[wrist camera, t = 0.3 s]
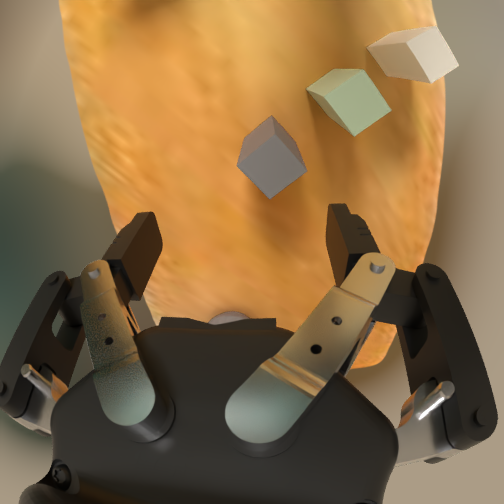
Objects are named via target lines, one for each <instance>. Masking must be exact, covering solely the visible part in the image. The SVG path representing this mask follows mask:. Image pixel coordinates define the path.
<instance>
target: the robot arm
mask: <svg viewBox="0 0 504 504" xmlns="http://www.w3.org/2000/svg"><path fill="white" fill-rule="evenodd" d="M162 246H163V243H162V237H161V234H160V231H159V227H158V224H157V220H156V217H155V214H154V213H153V212H141V213H137V214H136V215H135V217H134V218H133V220H132V221H131V222H130V224H128V225H126V226H125V227H124V228H123V229H121V231H120V232H119V233H118V235H117V237H116V238H115V239H114V241H113V244H111V245H110V247H109V248H108V250H107V252H106V253H105V255H104V256H103V258H102V259H101V260H96V261H94V262H91V263H90V264H88V265H87V266H86V267H85V268H84V269H83V270H82V271H81V274H80V276H79V277H75V278H72V279H68V277H67V275H66V274H65V272H63V271H56V272H54V273H52V274H51V275H49V276H48V277H47V278H46V279H45V281H44V282H43V283H42V285H41V287H40V288H39V290H38V292H37V293H36V295H35V297H34V299H33V300H32V302H31V304H30V305H29V307H28V309H27V311H26V313H25V315H24V316H23V318H22V320H21V322H20V324H19V326H18V328H17V330H16V332H15V334H14V336H13V338H12V340H11V342H10V345H9V347H8V349H7V351H6V353H5V356H4V358H3V360H2V363H1V365H0V409H1V410H3V411H4V412H5V413H7V414H8V415H9V416H10V417H11V418H13V419H14V420H16V421H17V422H19V423H20V424H22V425H23V426H25V427H27V428H28V429H31V430H33V431H35V432H37V433H38V434H40V435H42V436H44V437H48V436H52V445H53V460H52V465H51V468H50V470H49V472H48V474H47V475H46V476H45V477H44V478H43V479H42V480H40V481H39V482H37V483H36V484H33V485H31V486H29V487H27V488H26V489H25V490H24V491H23V492H22V494H21V496H20V500H19V504H382V501H383V496H384V492H385V489H386V485H387V482H388V480H389V477H390V474H391V472H392V470H393V468H394V467H397V466H402V465H407V464H411V463H415V462H419V461H425V462H427V463H431V464H433V463H437V462H440V461H442V460H445V459H447V458H449V457H452V456H454V455H456V454H458V453H460V452H462V451H464V450H467V449H468V448H470V447H472V446H474V445H476V444H478V443H480V442H482V441H484V440H485V439H487V438H489V437H490V436H491V434H492V433H493V432H494V430H495V428H496V425H497V420H498V414H497V409H496V404H495V400H494V397H493V392H492V388H491V385H490V381H489V378H488V375H487V371H486V368H485V365H484V362H483V359H482V356H481V353H480V351H479V347H478V345H477V342H476V339H475V337H474V334H473V332H472V329H471V327H470V324H469V322H468V319H467V317H466V315H465V312H464V310H463V308H462V305H461V303H460V301H459V299H458V297H457V295H456V293H455V291H454V289H453V287H452V285H451V282H450V280H449V279H448V276H447V275H446V273H445V272H444V271H443V270H442V269H441V268H439V267H438V266H436V265H433V264H429V263H424V264H421V265H419V266H418V267H417V269H416V272H415V273H414V272H409V271H404V270H400V269H397V268H396V267H395V264H394V262H393V261H392V260H391V259H390V258H389V257H387V256H386V255H383V254H381V253H380V251H379V249H378V247H377V244H376V242H375V240H374V238H373V236H372V235H371V232H370V230H369V229H368V226H367V224H366V222H365V221H364V220H363V219H362V218H361V217H360V216H358V215H357V214H351V213H350V211H349V209H348V207H347V205H346V204H329V206H328V214H327V226H326V246H327V250H328V254H329V258H330V262H331V266H332V270H333V274H334V278H335V282H336V285H335V286H333V287H332V288H331V289H330V290H329V292H328V293H327V294H326V296H325V297H324V298H323V299H322V301H321V302H320V303H319V304H318V306H317V307H316V308H315V309H314V311H313V312H312V313H311V314H310V315H309V317H308V318H307V319H306V320H305V322H304V323H303V324H302V325H301V326H300V328H299V329H298V330H297V331H296V332H295V333H294V332H292V331H289V330H287V329H283V328H279V327H276V318H263V319H242V320H238V321H233V322H228V323H223V324H217V325H214V324H209V323H205V322H201V321H197V320H193V319H190V318H176V317H161V320H160V323H159V325H158V326H154V327H151V328H148V329H145V330H143V331H140V329H139V327H138V324H137V322H136V320H135V318H134V315H133V313H132V310H131V308H130V306H129V302H130V300H136V301H140V300H141V297H142V295H143V292H144V290H145V288H146V285H147V283H148V281H149V278H150V276H151V274H152V271H153V269H154V267H155V265H156V262H157V260H158V258H159V256H160V254H161V251H162ZM57 313H59V314H60V316H61V317H62V318H63V323H62V325H61V327H60V329H59V332H58V334H57V336H56V337H55V336H54V334H53V332H52V323H53V321H54V319H55V317H56V315H57ZM377 321H379V322H384V323H389V324H394V325H396V328H397V332H398V336H399V339H400V344H401V348H402V352H403V357H404V361H405V366H406V371H407V376H408V381H409V386H410V392H411V396H410V397H409V398H408V399H407V400H406V401H405V403H404V404H403V406H402V409H401V420H400V424H399V426H398V428H396V429H395V428H394V426H393V424H392V423H391V422H390V420H389V419H388V418H387V417H386V416H385V415H384V414H383V413H382V412H381V411H380V410H379V409H377V408H376V407H375V406H374V405H373V404H372V403H371V402H370V401H369V400H368V399H367V398H366V397H365V396H364V395H363V394H362V393H361V392H360V391H359V390H357V389H356V388H355V387H354V386H353V385H352V384H351V383H350V382H349V381H348V380H347V379H346V378H345V376H346V374H347V373H348V371H349V370H350V368H351V366H352V364H353V363H354V361H355V359H356V357H357V355H358V353H359V352H360V350H361V348H362V346H363V345H364V343H365V341H366V340H367V338H368V336H369V334H370V332H371V331H372V329H373V327H374V325H375V323H376V322H377ZM85 338H86V339H87V344H88V348H89V352H90V356H91V359H92V363H93V367H94V369H93V370H92V371H91V372H90V373H88V374H87V375H86V376H85V377H84V378H82V379H81V380H80V381H79V382H78V383H76V384H75V385H74V386H73V387H72V388H70V389H69V390H68V387H69V383H70V380H71V377H72V374H73V371H74V368H75V365H76V362H77V360H78V357H79V354H80V351H81V348H82V346H83V343H84V340H85Z"/></svg>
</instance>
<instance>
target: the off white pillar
mask: <svg viewBox="0 0 504 504" xmlns="http://www.w3.org/2000/svg"><path fill="white" fill-rule="evenodd" d="M366 48H367V50H368V51H369V52H370V54H371V55H372V56H373V58H374V59H375V60H376V62H377V63H378V64H379V66H380V67H381V69H382V70H383V71H384V73H385V74H386V76H389V77H396V78H403V79H409V80H415V81H420V82H426V83H433V82H435V81H436V80H438V79H439V78H441V77H442V76H444V75H445V74H447V73H448V72H450V71H452V70H453V69H455V68H456V67H458V66H459V64H458V63H457V61H456V59H455V57H454V55H453V53H452V52H451V50H450V48H449V46H448V44H447V43H446V41H445V39H444V38H443V36H442V35H441V33H440V31H439V30H438V28H437V27H436V26H430V27H422V28H415V29H409V30H403V31H397V32H392V33H389V34H388V35H386V36H384V37H383V38H381V39H379V40H378V41H376V42H374V43H373V44H371V45H369V46H368V47H366Z"/></svg>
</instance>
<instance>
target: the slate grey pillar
mask: <svg viewBox="0 0 504 504" xmlns="http://www.w3.org/2000/svg"><path fill="white" fill-rule="evenodd" d="M237 167H238V168H239V169H240V170H241V171H242V172H243V173H244V174H245V175H246V176H247V177H248V178H249V179H250V180H251V181H252V182H253V183H254V184H255V185H256V186H257V187H258V188H259V189H260V190H261V191H262V192H263V193H264V194H265V195H266V196H267V197H268V198H269V199H271V198H272V197H274V196H275V195H276V194H278V193H279V192H280V191H281V190H283V189H284V188H285V187H287V186H288V185H289V184H291V183H292V182H293V181H295V180H296V179H297V178H299V177H300V176H301V175H303V174H304V173H305V172H307V169H306V166H305V164H304V161H303V159H302V156H301V154H300V151H299V149H298V147H297V144H296V142H295V141H294V139H293V138H292V137H291V136H290V135H289V134H288V133H287V132H286V130H285V129H284V128H283V127H282V126H281V125H280V124H279V123H278V122H277V120H276V119H275V118H274V117H273V116H272V115H271V116H270V117H269V118H268V119H267V120H265V121H264V122H263V123H262V124H260V125H259V126H258V127H257V128H256V129H254V130H253V131H252V132H251V133H250V134H249V135H247V136H246V137H245V138H244V141H243V145H242V148H241V152H240V155H239V159H238V163H237Z"/></svg>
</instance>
